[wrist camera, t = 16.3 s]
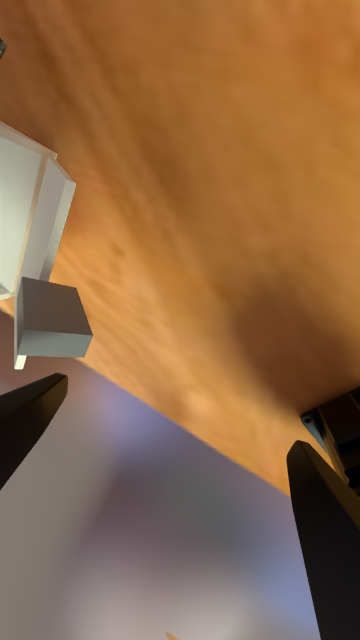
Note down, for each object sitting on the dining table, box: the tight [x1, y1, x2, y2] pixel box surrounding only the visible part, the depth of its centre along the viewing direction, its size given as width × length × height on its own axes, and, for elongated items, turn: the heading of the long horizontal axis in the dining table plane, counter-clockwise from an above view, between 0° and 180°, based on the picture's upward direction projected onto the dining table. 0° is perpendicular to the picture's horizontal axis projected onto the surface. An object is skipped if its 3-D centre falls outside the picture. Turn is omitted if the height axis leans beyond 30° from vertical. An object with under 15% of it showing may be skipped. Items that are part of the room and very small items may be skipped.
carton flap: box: [14, 156, 93, 369], centre depth 16 cm, size 3×13×15 cm
